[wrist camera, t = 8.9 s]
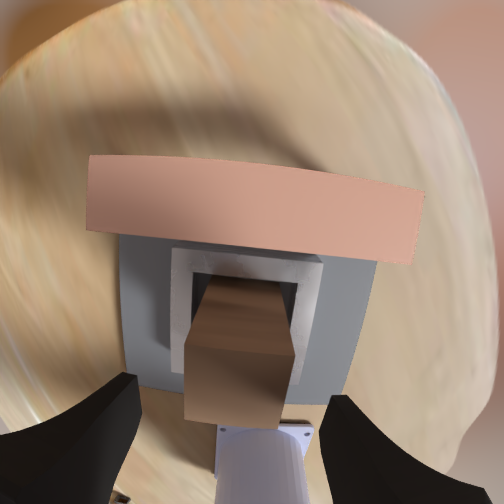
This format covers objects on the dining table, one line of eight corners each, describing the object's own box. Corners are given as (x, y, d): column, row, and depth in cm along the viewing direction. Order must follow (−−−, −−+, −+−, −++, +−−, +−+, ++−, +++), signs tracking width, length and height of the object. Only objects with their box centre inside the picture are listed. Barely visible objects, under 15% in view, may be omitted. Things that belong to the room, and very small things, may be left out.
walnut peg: (269, 340, 19) (277, 429, 11) (207, 333, 19) (184, 419, 11) (279, 282, 18) (295, 355, 11) (212, 274, 18) (183, 343, 10)
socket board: (334, 396, 22) (357, 467, 14) (132, 376, 21) (97, 441, 14) (382, 187, 18) (450, 198, 11) (129, 160, 18) (62, 155, 10)
